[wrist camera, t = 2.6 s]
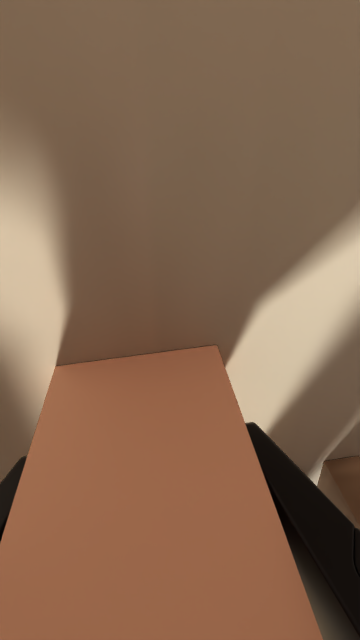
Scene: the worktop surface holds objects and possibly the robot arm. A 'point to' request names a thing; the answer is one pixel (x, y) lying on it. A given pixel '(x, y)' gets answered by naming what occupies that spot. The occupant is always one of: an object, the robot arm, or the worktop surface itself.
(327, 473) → the domino
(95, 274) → the worktop surface
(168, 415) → the domino
